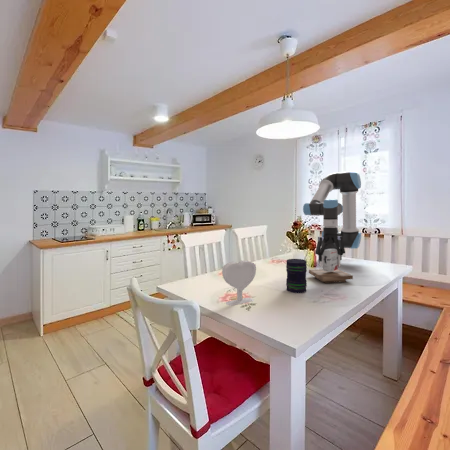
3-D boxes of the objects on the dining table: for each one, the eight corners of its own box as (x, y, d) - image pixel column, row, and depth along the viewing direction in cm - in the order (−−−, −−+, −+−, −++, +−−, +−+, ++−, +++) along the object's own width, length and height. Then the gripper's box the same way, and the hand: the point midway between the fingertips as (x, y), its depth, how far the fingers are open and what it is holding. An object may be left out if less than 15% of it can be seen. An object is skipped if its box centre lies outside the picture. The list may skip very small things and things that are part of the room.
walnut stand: (308, 276, 160) (308, 269, 160) (335, 274, 163) (335, 268, 162) (323, 284, 143) (323, 277, 143) (352, 282, 146) (352, 275, 146)
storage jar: (301, 286, 141) (301, 258, 140) (310, 292, 131) (310, 262, 130) (283, 287, 139) (283, 259, 138) (290, 293, 130) (290, 263, 129)
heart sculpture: (227, 306, 115) (226, 265, 114) (221, 302, 120) (221, 262, 118) (257, 300, 122) (257, 260, 121) (251, 296, 127) (250, 259, 125)
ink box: (329, 268, 157) (330, 248, 156) (337, 269, 153) (338, 249, 152) (321, 270, 152) (322, 249, 151) (330, 272, 148) (330, 250, 147)
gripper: (315, 228, 145) (314, 269, 147) (352, 226, 149) (352, 266, 150) (308, 227, 153) (308, 265, 155) (344, 225, 156) (344, 263, 158)
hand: (329, 266), depth 152 cm, fingers closed on ink box, 9 cm apart
